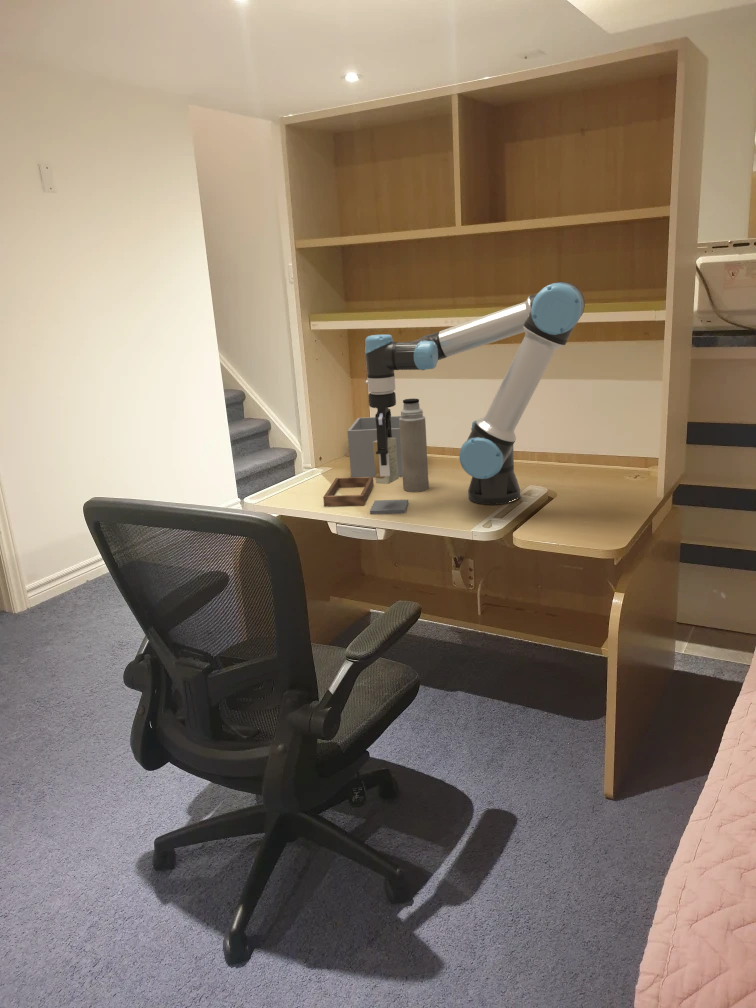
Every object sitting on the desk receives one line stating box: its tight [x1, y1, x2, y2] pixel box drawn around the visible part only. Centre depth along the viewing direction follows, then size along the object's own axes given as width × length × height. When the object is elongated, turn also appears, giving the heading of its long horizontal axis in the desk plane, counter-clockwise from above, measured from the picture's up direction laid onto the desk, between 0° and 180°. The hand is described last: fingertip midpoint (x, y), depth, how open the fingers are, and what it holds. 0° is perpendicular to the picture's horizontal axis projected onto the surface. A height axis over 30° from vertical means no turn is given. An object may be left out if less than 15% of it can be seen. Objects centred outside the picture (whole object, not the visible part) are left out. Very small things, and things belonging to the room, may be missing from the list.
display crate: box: [347, 415, 403, 478], centre depth 266 cm, size 22×22×16 cm
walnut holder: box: [322, 476, 374, 507], centre depth 239 cm, size 12×21×3 cm, turn 173°
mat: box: [369, 499, 409, 515], centre depth 224 cm, size 10×10×1 cm
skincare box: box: [373, 437, 400, 485], centre depth 220 cm, size 6×4×12 cm
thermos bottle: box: [399, 398, 430, 493], centre depth 238 cm, size 8×8×28 cm
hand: (386, 472), depth 221 cm, fingers closed on skincare box, 7 cm apart
